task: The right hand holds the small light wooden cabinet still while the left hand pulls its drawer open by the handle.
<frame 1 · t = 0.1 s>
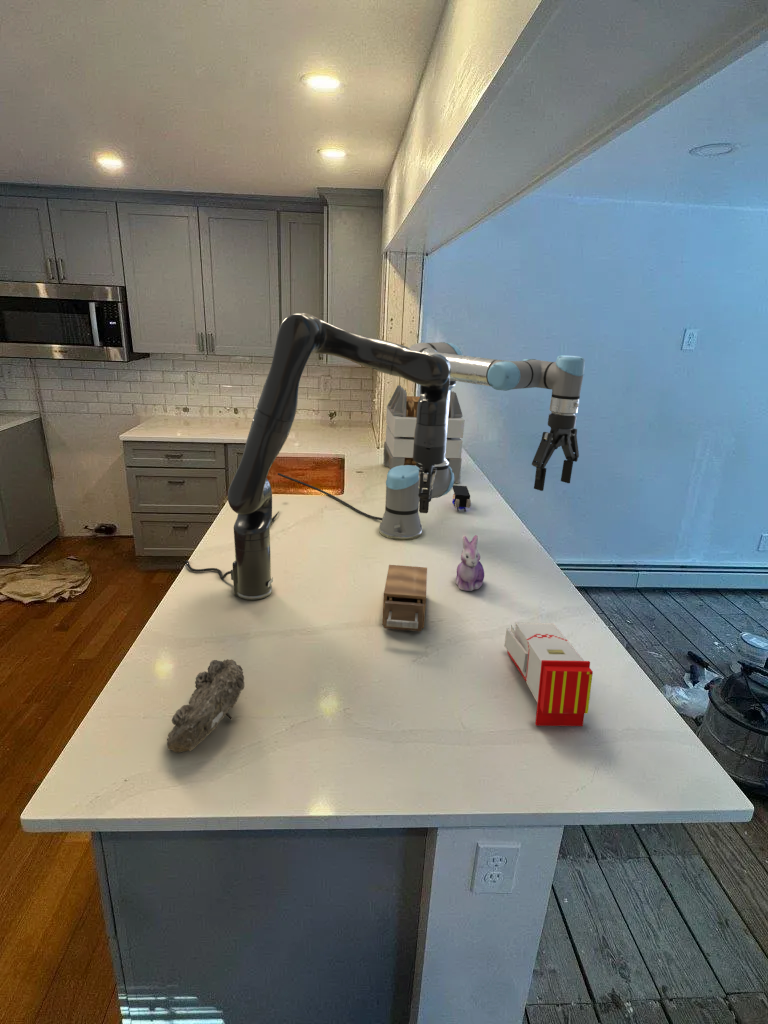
left hand: (425, 506, 139), 29 cm above the counter, tool pointing down, fingers open, 8 cm apart
right hand: (552, 485, 166), 28 cm above the counter, tool pointing down, fingers open, 13 cm apart
feather: (277, 515, 212), on the counter
fossil: (212, 717, 108), on the counter
figurine character: (460, 507, 229), on the counter
figurine: (469, 585, 165), on the counter
grey storage bin: (419, 473, 275), on the counter
drawer: (404, 607, 142), point 4 cm above the counter, slide at 1.9 cm
toy: (538, 683, 122), on the counter
cabinet: (404, 610, 150), on the counter
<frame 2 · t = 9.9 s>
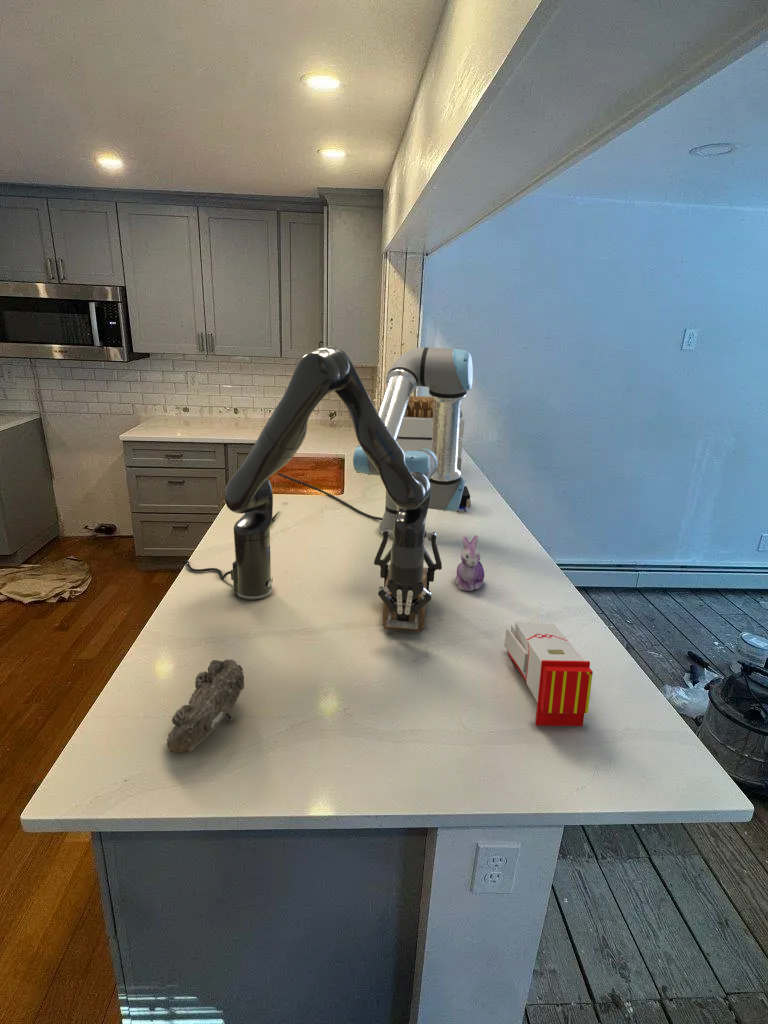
left hand: (402, 625, 134), 4 cm above the counter, tool pointing down, fingers closed
right hand: (406, 590, 152), 4 cm above the counter, tool pointing down, fingers closed on cabinet, 10 cm apart
drawer: (404, 608, 142), point 4 cm above the counter, slide at 2.2 cm, touching left hand
cabinet: (404, 610, 150), on the counter, touching right hand
everything else where it was.
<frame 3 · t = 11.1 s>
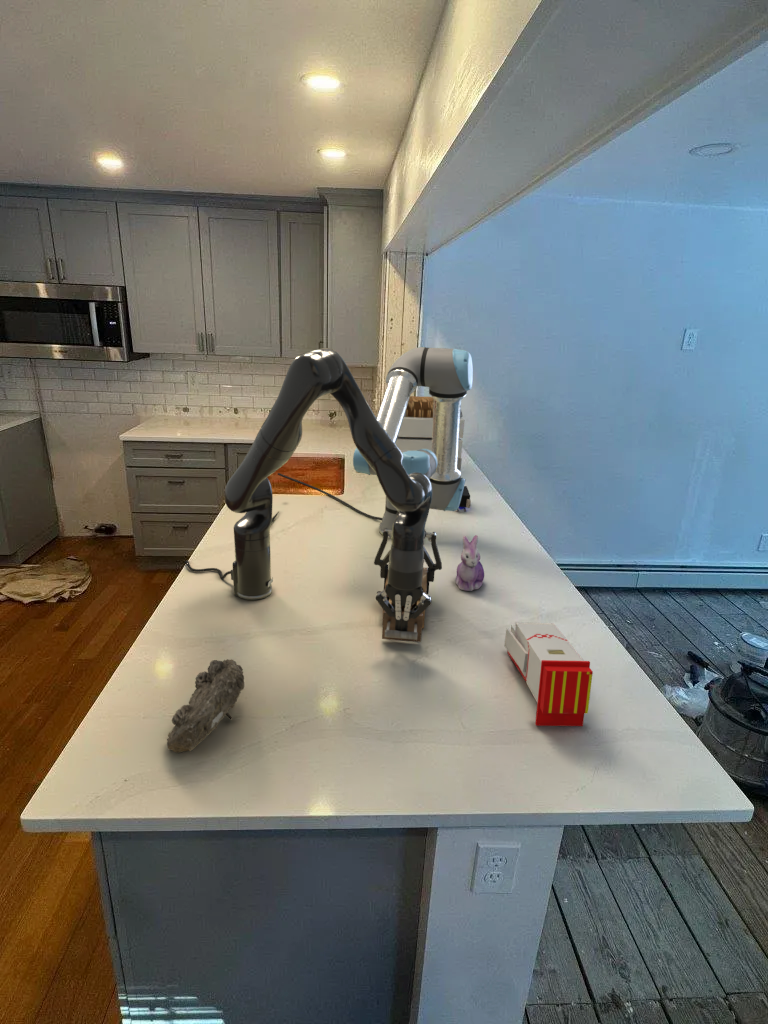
left hand: (401, 631, 130), 5 cm above the counter, tool pointing down, fingers closed
right hand: (406, 590, 152), 4 cm above the counter, tool pointing down, fingers closed on cabinet, 10 cm apart
drawer: (403, 617, 137), point 5 cm above the counter, slide at 6.6 cm, touching left hand
cabinet: (404, 610, 149), on the counter, touching right hand
everything else where it was.
when the right hand's fingers open (4 cm above the counter, at t = 12.7 s): cabinet stays where it is, on the counter.
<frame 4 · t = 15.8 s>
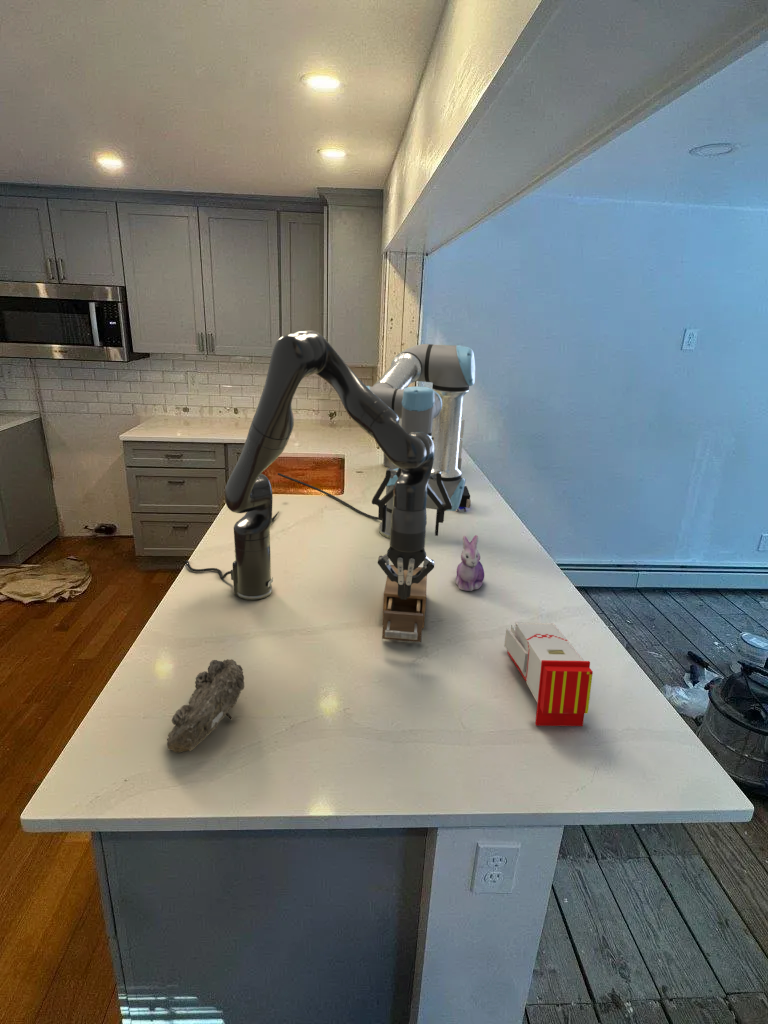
left hand: (403, 597, 127), 14 cm above the counter, tool pointing down, fingers closed
right hand: (410, 532, 146), 21 cm above the counter, tool pointing down, fingers open, 13 cm apart
drawer: (403, 617, 137), point 4 cm above the counter, slide at 6.6 cm
cabinet: (404, 610, 150), on the counter
everything else where it was.
at the end: drawer slide at 6.6 cm; cabinet tilted 0°; cabinet never tilted more than 1° during the clip; cabinet moved 0.0 cm from its start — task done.
